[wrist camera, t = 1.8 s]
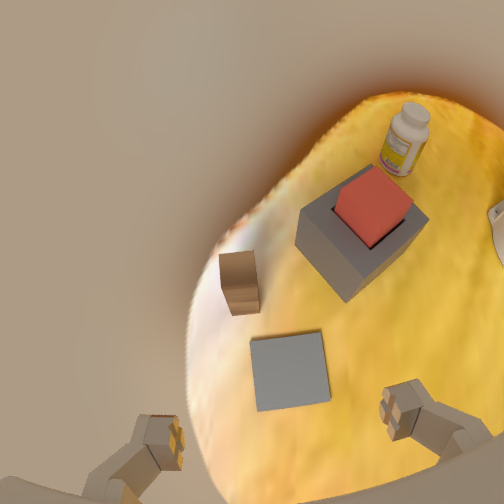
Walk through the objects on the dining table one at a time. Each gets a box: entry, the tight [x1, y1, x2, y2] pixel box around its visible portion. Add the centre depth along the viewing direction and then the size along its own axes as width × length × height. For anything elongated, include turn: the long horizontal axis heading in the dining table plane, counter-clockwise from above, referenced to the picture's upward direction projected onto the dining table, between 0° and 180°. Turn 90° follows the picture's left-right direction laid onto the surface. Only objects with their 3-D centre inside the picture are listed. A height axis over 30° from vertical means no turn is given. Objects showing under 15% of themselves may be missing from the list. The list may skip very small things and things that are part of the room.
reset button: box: [334, 166, 413, 249], centre depth 35 cm, size 6×6×5 cm
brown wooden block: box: [219, 250, 260, 316], centre depth 37 cm, size 4×4×11 cm
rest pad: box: [250, 332, 331, 412], centre depth 37 cm, size 9×9×1 cm
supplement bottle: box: [380, 102, 430, 176], centre depth 46 cm, size 7×7×13 cm
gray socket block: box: [295, 164, 430, 303], centre depth 41 cm, size 13×11×9 cm
